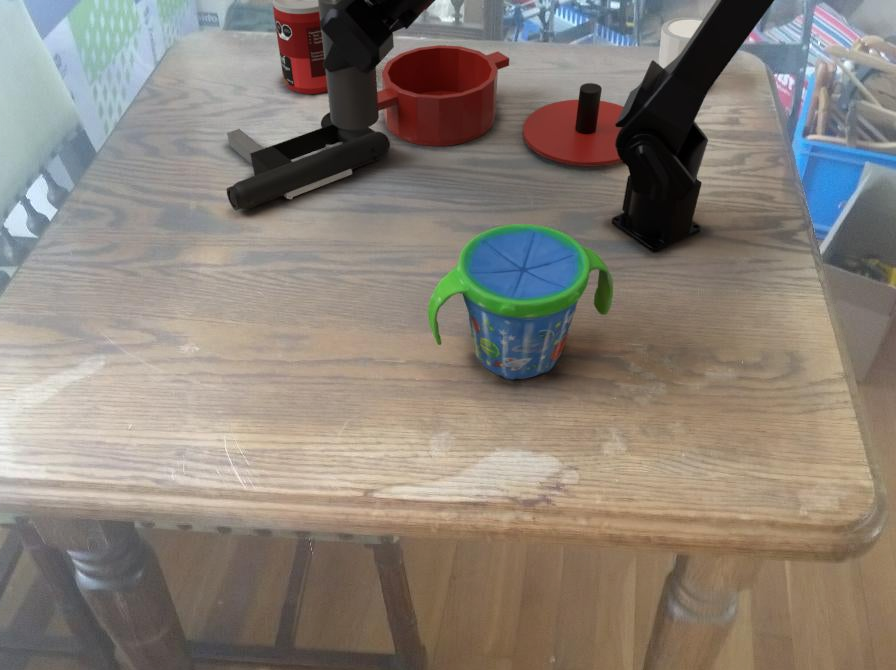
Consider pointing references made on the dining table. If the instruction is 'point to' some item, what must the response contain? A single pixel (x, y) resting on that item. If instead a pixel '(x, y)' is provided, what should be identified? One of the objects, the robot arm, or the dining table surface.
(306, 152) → the door handle
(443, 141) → the pot
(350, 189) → the dining table surface
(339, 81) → the pepper mill
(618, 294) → the dining table surface
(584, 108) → the lid
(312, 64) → the red can
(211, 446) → the dining table surface
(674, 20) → the off-white short cylinder
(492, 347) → the snack cup
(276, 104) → the dining table surface
